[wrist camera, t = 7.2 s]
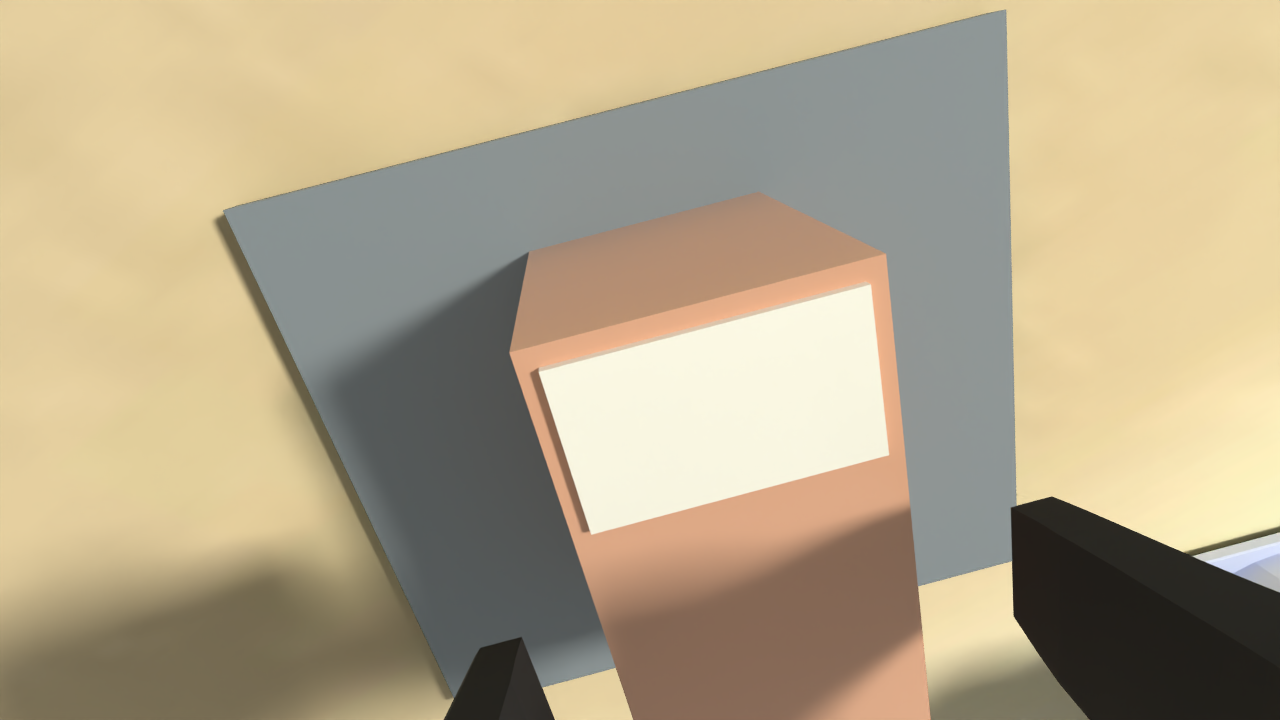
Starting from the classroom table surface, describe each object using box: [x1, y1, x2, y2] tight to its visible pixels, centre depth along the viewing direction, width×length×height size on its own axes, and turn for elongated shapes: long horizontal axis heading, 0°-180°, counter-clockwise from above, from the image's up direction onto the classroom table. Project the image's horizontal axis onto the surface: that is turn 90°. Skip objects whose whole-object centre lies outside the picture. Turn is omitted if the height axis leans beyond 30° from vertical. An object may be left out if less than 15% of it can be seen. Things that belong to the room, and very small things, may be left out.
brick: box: [509, 192, 931, 720], centre depth 13 cm, size 9×5×6 cm, turn 13°
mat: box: [223, 10, 1016, 698], centre depth 16 cm, size 16×14×1 cm
